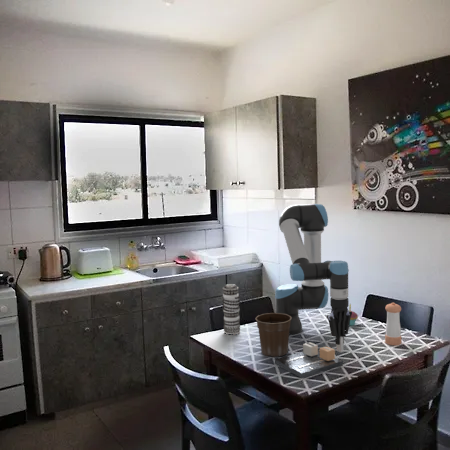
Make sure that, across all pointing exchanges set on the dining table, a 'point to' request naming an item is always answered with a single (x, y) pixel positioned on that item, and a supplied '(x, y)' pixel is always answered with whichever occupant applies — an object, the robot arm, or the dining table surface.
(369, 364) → the dining table surface
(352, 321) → the cupcake
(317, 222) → the robot arm
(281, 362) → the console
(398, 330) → the pepper shaker
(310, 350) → the fader
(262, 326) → the plant pot
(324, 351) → the fader
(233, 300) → the decorative candle
